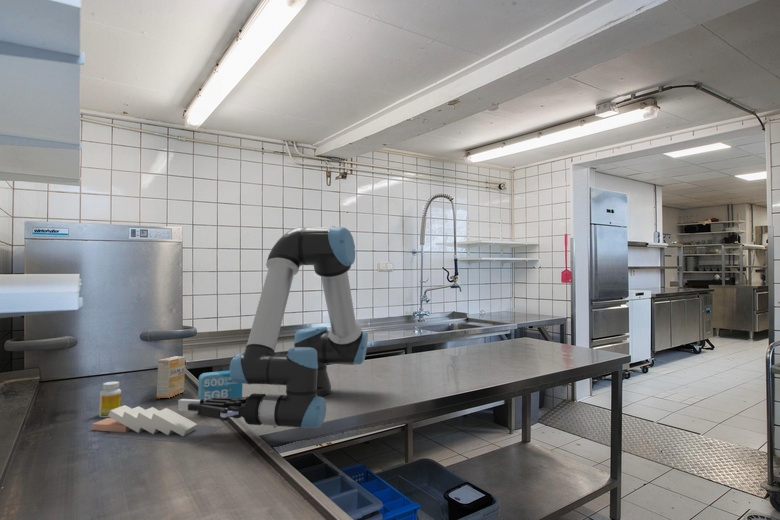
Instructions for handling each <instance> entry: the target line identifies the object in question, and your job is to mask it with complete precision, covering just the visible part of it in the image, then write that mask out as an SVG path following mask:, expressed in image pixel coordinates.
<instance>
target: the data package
mask: <svg viewBox="0 0 780 520" xmlns="http://www.w3.org/2000/svg"><path fill="white" fill-rule="evenodd" d="M197 387H198V390H197V391H198V392H197V393H198V394H197V400H201V399H204V400H205V401H206V400H207V399H210V400H212V398H231V397H243V383H236V382H234V381H233V380H232V379H231V377H230V372H229V370H220V371H212V372H211V371H209V372H203V373H201V374H200V375H199V377H198V386H197Z"/></svg>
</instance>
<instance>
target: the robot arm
mask: <svg viewBox="0 0 780 520" xmlns="http://www.w3.org/2000/svg"><path fill="white" fill-rule="evenodd" d="M355 246H356V245H355V239H354V237H353V235H352V233H351V231H350V230H349V229H348V228H346V227H342V226H340V227H339V226H334V225H333V226H330V227H329V226H328V227H327V226H326V227H324V226H321V227H318V226H317V227H312V226H311V227H310V226H307V227H306V226H305V227H304V226H303V227H301V226H299V227H296V228H293V229H291V230H289V231H287V232H286V233H284V234H283V235H282V236H281V237H280V238H279V239H278V240H277V242H275V244H274V245H273V247H272V248H271V250H270V252H269V254H268V257H267V259H266V263H265V266H266V269H267V271H266V272H267V273H266V276H265V279H264V283H263V286H262V287H263V288H262V289H261V293H260V297H259V300H258V304H257V308H256V311H255V313H254V318H253V322H252V325H251V329H250V332H249V336H248V339H247V341H246V342H247V343H246V345H245V349H244V352H240V353H239V352H238V353H236V354H235V355H233V358H232V359H231V361H230V363H229V372H230V377H231V379H232V380H233V381H234V382H236V383H242V384H243V385H244V384H247V385H273V386H285V387H286V388H285V394H280V393H279V394H278V393H267V394H266V393H251V394H250V395H249V396H242V397H231V398H212V400H210V399H207V400H206V401H205V400H204V399H201V400H198V399H196V398H195V399H194V398H193V399H189V398H181V399H178V400H177V401H178V404H177V406H178V408H177V411H178V412H192V413H197V416H199V417H205V418H206V417H207V418H211V419H219V420H221V421H223V422H225V421H227V420H228V418H233V419H240V418H241V417H242V418H243V419H244V421H245V423H246V424H248V425H249V426H250V425H251V426H261V425H263V426H271V427H272V428H275V429H276V428H277V427H287V428H299V429H303V430H304V429H317V428H320V427H321V426H323V423H324V421H325V418H326V413H327V405H326V403H327V402H326V400H325V398H324V397H323V396H326V395H329V394H331V393H332V383H331V381H330V377H329V374H328V371H327V370H328V369H327V365H348V366H356V365H357V366H358V365H362V364H363V363H364V362H365V360H366V359H365V358H366V356H367V349H368V340H369V338H368V337H369V336H368V335H369V334H368V331H367V332H366V331H365V330H362V327H361V325H360V324H359V323H358V322H356V315H355V310H354V303H353V298H352V290H351V285H350V278H349V273H348V272H349V271H350V269H351V267H352V265H353V264H354V263H355V261H356V250H355V249H356V247H355ZM302 266H313V269H314V273H315V274H316V275H317V276H319V277H320V279H321V284H322V289H323V294H324V298H325V303H326V304H325V305H326V308H327V309H326V310H327V312H328V318H329V323H330V328H329V330H328V327H327V326H316V327H315V326H313V327H308V328H307V327H306V328H301V329H298V330H297V331H296V332H295V334H294V342H293V347H290V348H288V350H287V354H275V351H276V348H277V343H278V339H279V335H280V332H281V327H282V324H283V320H284V315H285V311H286V308H287V304H288V299H289V296H290V292H291V288H292V284H293V279H294V276H295V275H297V274H298V272H299V270H300V267H302Z"/></svg>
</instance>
